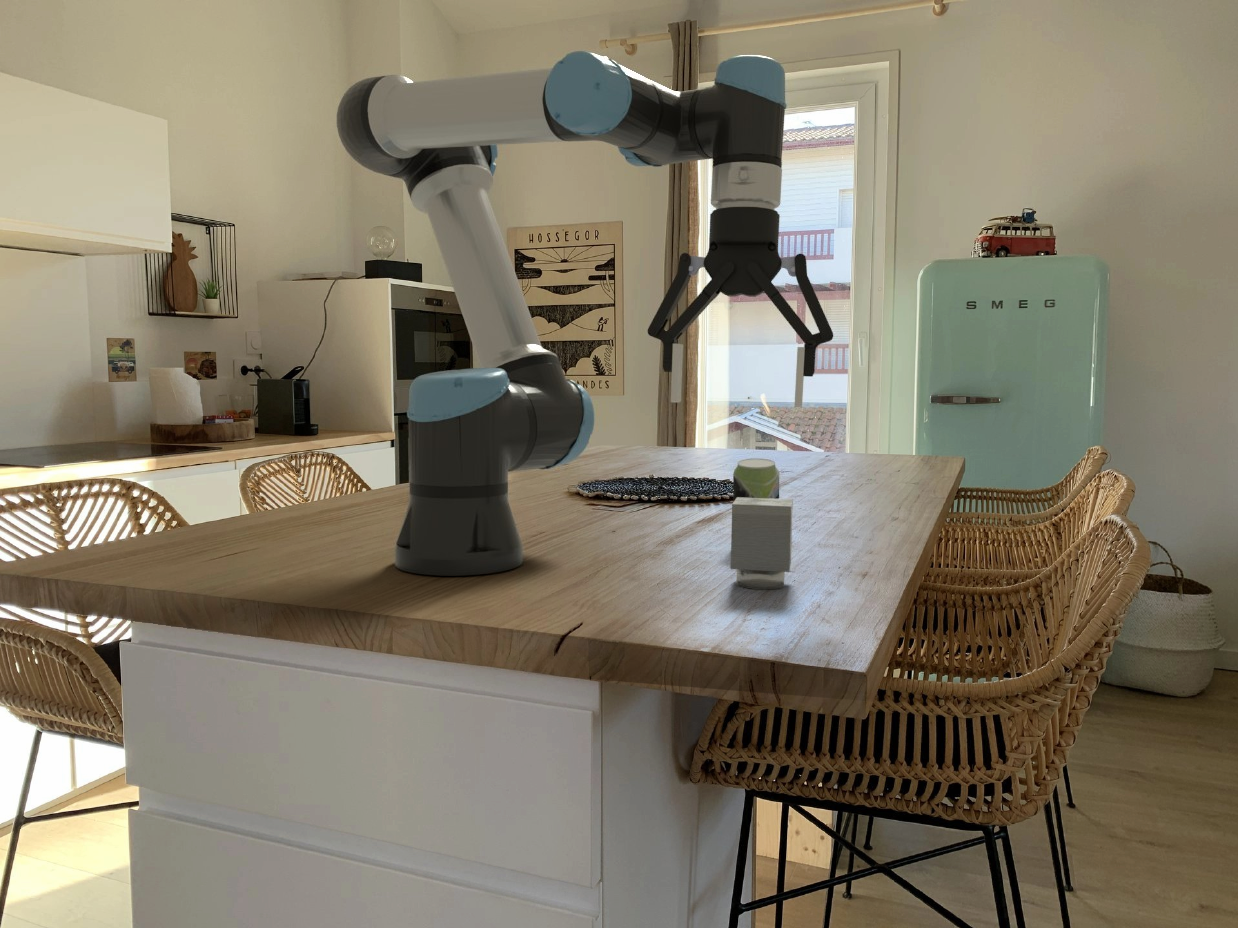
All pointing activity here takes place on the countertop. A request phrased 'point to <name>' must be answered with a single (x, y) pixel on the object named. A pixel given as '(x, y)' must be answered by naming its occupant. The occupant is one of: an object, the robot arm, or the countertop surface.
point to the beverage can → (756, 479)
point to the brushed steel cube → (761, 534)
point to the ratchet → (760, 579)
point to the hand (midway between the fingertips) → (736, 405)
